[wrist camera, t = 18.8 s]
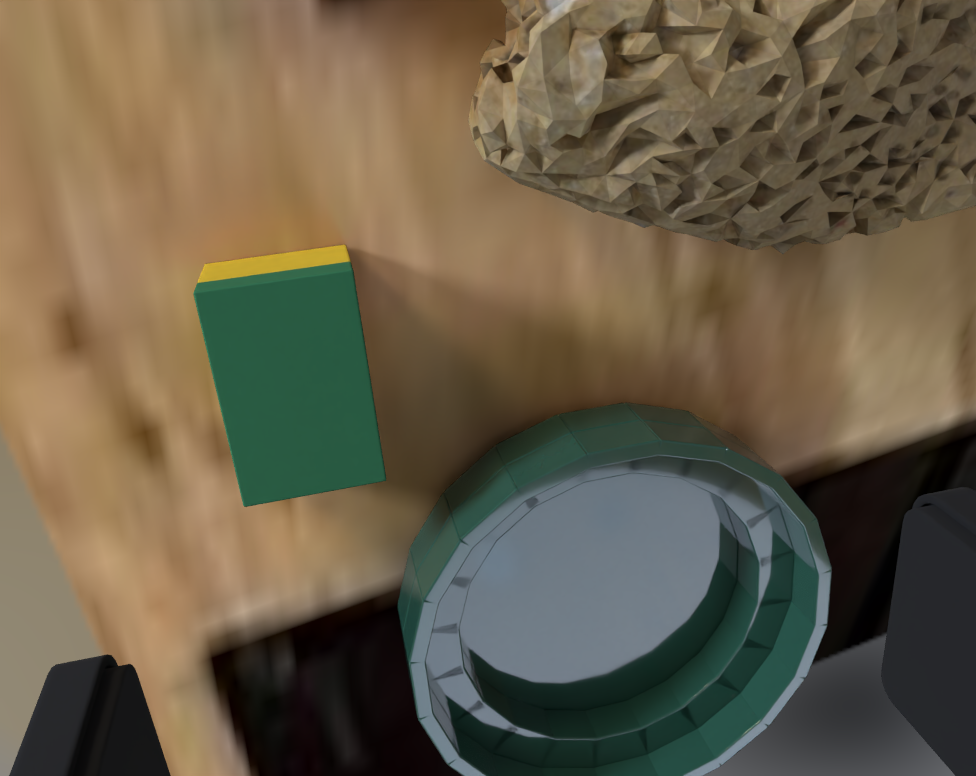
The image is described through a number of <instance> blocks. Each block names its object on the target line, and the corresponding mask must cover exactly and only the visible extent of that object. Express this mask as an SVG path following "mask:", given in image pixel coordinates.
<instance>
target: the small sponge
mask: <svg viewBox="0 0 976 776" xmlns="http://www.w3.org/2000/svg"><path fill="white" fill-rule="evenodd" d="M194 298H195V302H196V307H197V311H198V315H199V319H200V324H201V328H202V332H203V336H204V341H205V345H206V349H207V353H208V357H209V362H210V366H211V370H212V374H213V379H214V383H215V387H216V391H217V396H218V400H219V404H220V408H221V412H222V417H223V421H224V425H225V429H226V434H227V438H228V442H229V446H230V451H231V455H232V459H233V463H234V467H235V472H236V476H237V480H238V484H239V489H240V493H241V497H242V501H243V505H244V507H247V506H252V505H258V504H263V503H269V502H274V501H280V500H285V499H290V498H296V497H301V496H307V495H312V494H317V493H323V492H328V491H334V490H339V489H344V488H350V487H355V486H361V485H366V484H371V483H377V482H382V481H386V474H385V468H384V461H383V455H382V449H381V442H380V436H379V430H378V423H377V417H376V411H375V404H374V398H373V392H372V385H371V379H370V373H369V367H368V360H367V354H366V348H365V341H364V335H363V329H362V322H361V316H360V310H359V303H358V297H357V291H356V284H355V278H354V272H353V268H352V264H351V261H350V257H349V254H348V250H347V247H346V245H339V246H332V247H324V248H317V249H310V250H303V251H296V252H288V253H281V254H274V255H267V256H259V257H252V258H245V259H238V260H231V261H223V262H216V263H209V264H205V265H204V268H203V270H202V273H201V275H200V278H199V280H198V283H197V286H196V288H195V291H194Z"/></svg>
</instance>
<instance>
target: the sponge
mask: <svg viewBox="0 0 976 776" xmlns="http://www.w3.org/2000/svg"><path fill="white" fill-rule="evenodd" d="M501 1H502V2H503V4H504V5H505V6H506V8H507V15H506V17H505V20H506V45H504V44H503V43H502V42H501V41H499V40H495V39H493V40H492V42H491V43H490V45H489V46H488V48H487V49H486V51H485V53H484V55H483V57H482V59H481V62H480V67H481V75H480V78H479V81H478V84H477V87H476V91H475V94H474V95H473V97H472V103H471V109H470V115H469V120H468V122H469V126H470V129H471V133H472V137H473V140H474V143H475V145H476V147H477V148H478V150H479V152H480V154H481V156H482V158H483V159H484V161H486V162H487V163H489V164H490V165H492V166H493V167H495V168H496V169H498V170H499V171H501V172H502V173H504V174H505V175H507V176H508V177H510V178H511V179H513V180H514V181H516V182H518V183H520V184H523V185H525V186H528V187H531V188H534V189H537V190H540V191H543V192H546V193H549V194H552V195H554V196H557V197H560V198H562V199H565V200H567V201H570V202H573V203H575V204H577V205H579V206H581V207H583V208H585V209H587V210H589V211H591V212H596V211H600V212H602V213H604V214H606V215H609V216H612V217H615V218H619V219H622V220H625V221H628V222H632V223H634V224H637V225H639V226H641V227H644V228H645V227H648V226H652V225H656V226H659V227H662V228H665V229H667V230H670V231H673V232H677V233H683V234H688V235H692V236H696V237H700V238H704V239H708V240H712V241H716V242H717V241H720V240H726V241H728V242H730V243H732V244H734V245H737V246H740V247H744V248H747V249H751V250H757V249H760V248H761V247H765V246H768V245H771V246H773V247H774V248H775V249H777V250H778V251H779V252H781V253H782V254H784V253H785V252H786V251H787V250H789V249H790V248H791V247H792V246H794V245H796V244H798V243H801V242H803V241H806V242H809V243H813V244H825V243H829V242H833V241H836V240H840V239H841V238H842V237H843V236H844V235H845V234H848V233H853V232H856V233H860V234H864V235H872V234H877V233H882V232H886V231H888V230H891V229H894V228H897V227H899V226H900V224H901V221H902V219H903V218H905V217H906V218H908V219H909V220H910V221H911V222H912V221H919V220H926V219H929V218H933V217H936V216H940V215H943V214H947V213H950V212H954V211H958V210H961V209H965V208H969V207H973V206H976V0H501Z"/></svg>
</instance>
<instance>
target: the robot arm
mask: <svg viewBox="0 0 976 776" xmlns="http://www.w3.org/2000/svg"><path fill="white" fill-rule="evenodd" d="M881 677H882V682H883V686H884V689H885V691H886V693H887V695H888V697H889V699H890V700H891V702H892V703H893V704H894V705H895V707H896V708H897V709H898V710H899V711H900V712H901V714H902V715H903V716H904V717H905V718H906V719H907V720H908V722H909V723H910V724H911V725H912V726H913V727H914V728H915V730H916V731H917V732H918V733H919V734H920V735H921V736H922V738H923V739H924V740H925V741H926V742H927V743H928V745H929V746H930V747H931V748H932V749H933V750H934V751H935V752H936V754H937V755H938V756H939V757H940V758H941V759H942V761H943V762H944V763H945V764H946V765H947V766H948V767H949V769H950V770H951V771H952V772H953V773H954V774H955V776H976V491H974V490H972V489H970V488H963V487H961V488H956V489H951V490H946V491H940V492H935V493H930V494H925V495H922V496H920V497H918V498H917V500H916V501H915V502H914V504H913V508H912V509H911V510H909V511H908V512H907V513H906V514H905V516H904V520H903V526H902V533H901V539H900V546H899V553H898V560H897V567H896V574H895V581H894V588H893V595H892V602H891V609H890V616H889V623H888V629H887V636H886V643H885V650H884V657H883V664H882V675H881ZM9 776H170V773H169V770H168V767H167V763H166V760H165V757H164V754H163V751H162V748H161V745H160V742H159V739H158V736H157V733H156V730H155V727H154V724H153V721H152V718H151V715H150V712H149V709H148V706H147V703H146V699H145V696H144V693H143V690H142V687H141V684H140V681H139V678H138V675H137V673H136V670H135V668H134V667H133V665H131V664H127V665H122V666H118V665H117V663H116V660H115V659H114V658H113V657H112V655H103V656H98V657H93V658H88V659H83V660H77V661H72V662H67V663H62V664H57V665H55V666H53V667H52V668H51V670H50V672H49V673H48V675H47V678H46V680H45V683H44V686H43V688H42V691H41V694H40V696H39V699H38V702H37V704H36V707H35V710H34V712H33V715H32V718H31V720H30V723H29V725H28V728H27V731H26V733H25V736H24V739H23V741H22V744H21V746H20V749H19V752H18V755H17V757H16V760H15V762H14V765H13V767H12V770H11V773H10V775H9Z"/></svg>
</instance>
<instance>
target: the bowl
mask: <svg viewBox="0 0 976 776" xmlns="http://www.w3.org/2000/svg"><path fill="white" fill-rule="evenodd" d="M831 569H832V568H831V564H830V561H829V558H828V554H827V551H826V548H825V544H824V541H823V537H822V534H821V531H820V527H819V524H818V521H817V518H816V517H815V515H814V514H813V513H812V511H811V510H810V509H809V508H808V507H807V505H806V504H805V503H804V502H803V501H802V500H801V498H800V497H799V496H798V495H797V494H796V492H795V491H794V490H793V489H792V488H791V486H790V485H789V484H788V483H787V482H786V480H785V479H784V478H783V477H782V476H781V475H780V474H779V473H778V472H777V471H775V470H774V469H773V468H772V467H771V466H770V465H768V464H767V463H766V462H765V461H764V460H763V459H762V458H760V457H759V456H758V455H757V454H756V453H755V452H753V451H752V450H751V449H750V448H749V447H748V446H747V445H745V444H744V443H743V442H742V441H741V440H740V439H738V438H737V437H736V436H735V435H733V434H731V433H729V432H727V431H725V430H723V429H721V428H719V427H717V426H715V425H714V424H712V423H710V422H708V421H706V420H704V419H702V418H700V417H698V416H696V415H694V414H693V413H691V412H689V411H685V410H679V409H671V408H664V407H656V406H649V405H641V404H634V403H619V404H613V405H607V406H602V407H596V408H590V409H585V410H579V411H574V412H568V413H562V414H559V416H558V415H555V416H553V417H551V418H549V419H547V420H545V421H543V422H541V423H539V424H537V425H535V426H533V427H531V428H529V429H527V430H525V431H523V432H521V433H519V434H517V435H514V436H512V437H510V438H508V439H506V440H504V441H502V442H500V443H498V444H496V447H495V446H494V447H493V448H491V449H490V450H489V451H488V452H487V453H486V454H485V455H484V456H483V457H482V458H480V459H479V460H478V461H477V462H476V463H475V464H474V465H473V466H472V467H471V468H469V469H468V470H467V471H466V472H465V473H464V474H463V475H462V476H461V477H460V478H458V479H457V480H456V481H455V482H454V483H453V484H452V485H451V486H450V487H449V488H447V489H446V490H445V493H443V494H442V495H441V497H440V499H439V500H438V502H437V504H436V505H435V507H434V509H433V510H432V512H431V514H430V515H429V517H428V519H427V520H426V522H425V524H424V525H423V527H422V529H421V530H420V532H419V534H418V535H417V537H416V539H415V540H414V542H413V544H412V545H411V548H410V549H409V554H408V559H407V563H406V568H405V573H404V577H403V582H402V587H401V591H400V596H399V601H398V612H399V618H400V625H401V631H402V637H403V643H404V649H405V655H406V661H407V666H408V671H409V677H410V682H411V687H412V692H413V698H414V703H415V708H416V713H417V717H418V720H419V722H420V723H421V725H422V726H423V728H424V730H425V731H426V733H427V734H428V736H429V737H430V739H431V740H432V742H433V744H434V745H435V747H436V748H437V750H438V751H439V753H440V754H441V756H442V758H443V759H444V761H445V762H446V763H447V764H448V766H450V767H451V768H453V769H454V770H456V771H457V772H458V773H460V774H461V775H463V776H703V775H705V774H707V773H709V772H711V771H713V770H715V769H717V768H719V767H720V766H721V765H723V764H724V763H726V762H727V761H728V760H729V759H730V758H731V757H733V756H734V755H735V754H736V753H738V752H739V751H740V750H741V749H742V748H743V747H745V746H746V745H747V744H748V743H750V742H751V741H752V740H753V739H754V738H756V737H757V736H758V735H759V734H760V733H762V732H763V731H764V730H765V729H766V728H767V727H768V726H769V725H770V724H771V723H772V722H773V721H774V719H775V718H776V716H777V715H778V714H779V713H780V711H781V710H782V709H783V707H784V706H785V705H786V703H787V702H788V701H789V699H790V698H791V697H792V696H793V694H794V693H795V692H796V690H797V689H798V687H799V686H800V685H801V683H802V682H803V681H804V680H805V678H806V677H807V674H808V672H809V669H810V667H811V665H812V662H813V660H814V657H815V655H816V652H817V650H818V647H819V645H820V643H821V640H822V638H823V635H824V633H825V630H826V628H827V623H828V613H829V601H830V588H831V575H832V570H831Z"/></svg>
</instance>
